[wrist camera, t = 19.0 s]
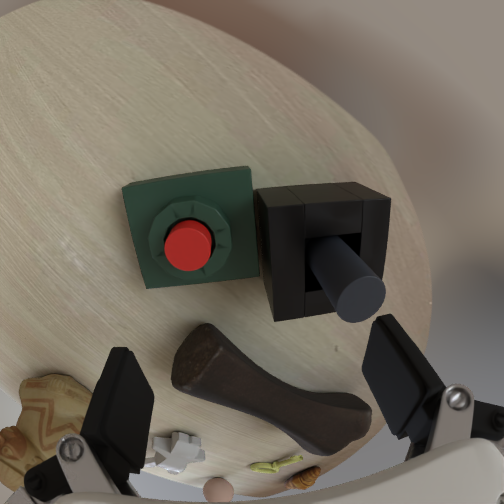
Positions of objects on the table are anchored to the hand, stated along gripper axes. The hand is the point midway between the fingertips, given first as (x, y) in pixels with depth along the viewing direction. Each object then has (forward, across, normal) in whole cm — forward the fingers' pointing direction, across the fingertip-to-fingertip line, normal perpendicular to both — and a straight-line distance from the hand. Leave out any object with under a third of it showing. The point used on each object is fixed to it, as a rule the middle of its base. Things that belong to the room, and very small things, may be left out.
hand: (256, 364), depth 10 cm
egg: (+16, +12, +60) cm, 63 cm away
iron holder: (+15, -6, +1) cm, 17 cm away
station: (+15, +4, -1) cm, 16 cm away
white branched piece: (+16, +16, +38) cm, 44 cm away
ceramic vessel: (+15, +30, +24) cm, 42 cm away
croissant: (+16, -8, +65) cm, 68 cm away
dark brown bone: (+16, -3, +21) cm, 27 cm away
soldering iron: (+15, -6, +1) cm, 17 cm away
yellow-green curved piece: (+16, -2, +51) cm, 54 cm away
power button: (+12, +4, -1) cm, 12 cm away
